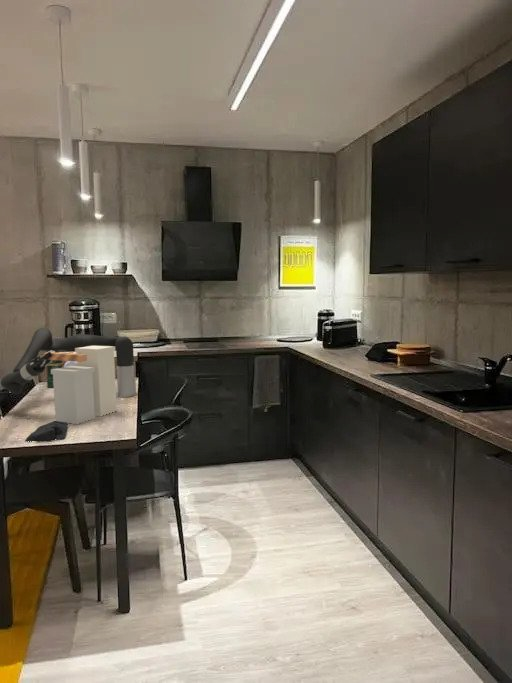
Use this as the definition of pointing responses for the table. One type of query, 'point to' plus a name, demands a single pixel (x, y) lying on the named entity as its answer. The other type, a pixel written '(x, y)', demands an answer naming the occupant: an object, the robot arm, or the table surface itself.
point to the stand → (101, 376)
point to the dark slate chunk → (49, 432)
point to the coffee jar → (50, 376)
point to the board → (67, 357)
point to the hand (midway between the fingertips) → (54, 353)
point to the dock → (73, 394)
